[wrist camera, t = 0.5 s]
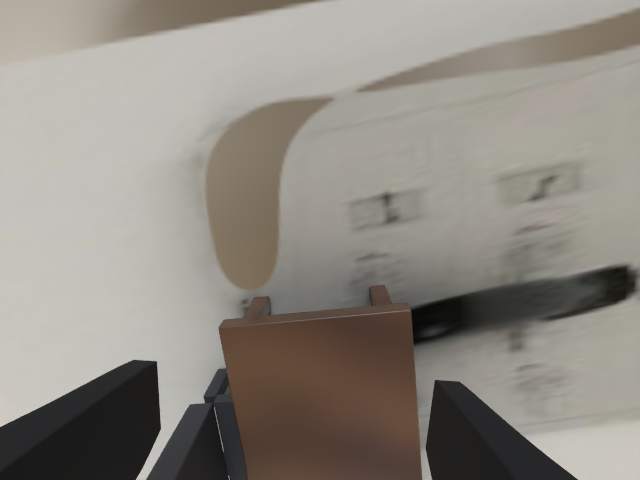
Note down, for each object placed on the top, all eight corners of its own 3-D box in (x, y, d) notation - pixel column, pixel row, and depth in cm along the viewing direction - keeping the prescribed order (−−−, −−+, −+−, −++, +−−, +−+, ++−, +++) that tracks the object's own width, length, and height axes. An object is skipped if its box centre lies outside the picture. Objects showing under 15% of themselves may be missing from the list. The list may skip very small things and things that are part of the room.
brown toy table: (410, 492, 22) (428, 574, 18) (280, 500, 22) (267, 582, 18) (393, 274, 19) (411, 309, 15) (243, 289, 19) (217, 327, 15)
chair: (328, 435, 21) (324, 597, 13) (225, 442, 22) (164, 604, 14) (318, 359, 20) (308, 488, 12) (209, 368, 21) (134, 498, 13)
